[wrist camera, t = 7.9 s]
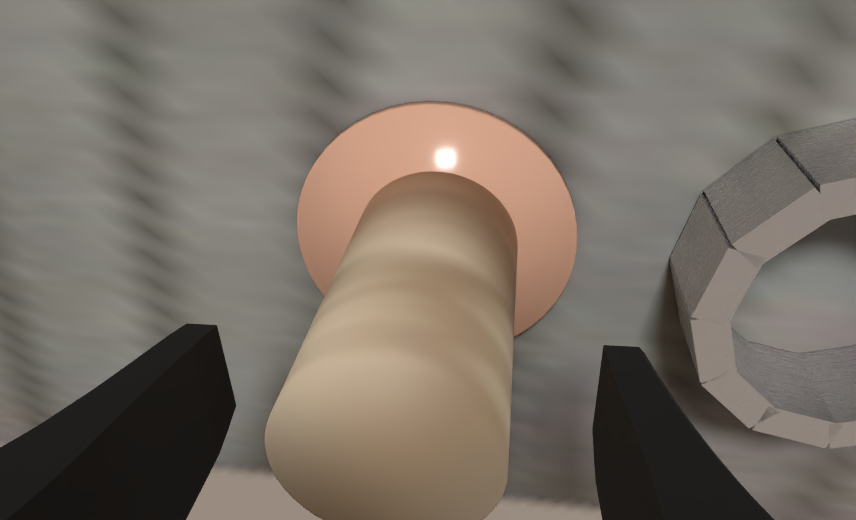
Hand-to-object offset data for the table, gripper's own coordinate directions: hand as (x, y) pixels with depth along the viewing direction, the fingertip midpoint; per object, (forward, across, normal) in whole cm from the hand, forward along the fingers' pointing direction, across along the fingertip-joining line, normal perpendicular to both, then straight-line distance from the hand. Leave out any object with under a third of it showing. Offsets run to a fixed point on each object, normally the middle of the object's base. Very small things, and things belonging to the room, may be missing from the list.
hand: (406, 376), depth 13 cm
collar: (+5, -9, 0) cm, 11 cm away
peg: (+5, 0, 0) cm, 5 cm away
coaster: (+5, 0, 0) cm, 5 cm away
